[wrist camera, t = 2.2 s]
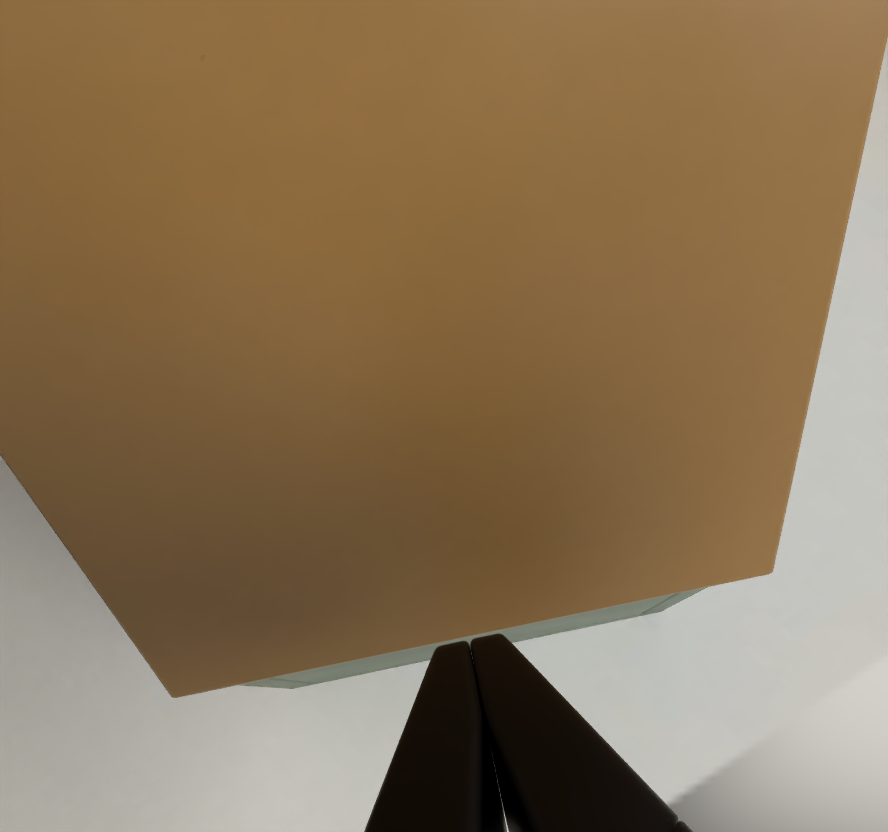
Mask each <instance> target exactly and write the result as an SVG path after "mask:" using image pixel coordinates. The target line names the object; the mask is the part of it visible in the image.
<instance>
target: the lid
mask: <svg viewBox="0 0 888 832" xmlns="http://www.w3.org/2000/svg"><path fill="white" fill-rule="evenodd" d="M887 37H888V0H0V455H1V456H2V458H3V459H4V460H5V462H6V463H7V465H8V466H9V468H10V469H11V470H12V472H13V473H14V475H15V476H16V477H17V479H18V480H19V482H20V483H21V484H22V486H23V487H24V489H25V490H26V492H27V493H28V494H29V496H30V497H31V499H32V500H33V501H34V503H35V504H36V506H37V507H38V509H39V510H40V511H41V513H42V514H43V516H44V517H45V518H46V520H47V521H48V523H49V524H50V526H51V527H52V528H53V530H54V531H55V533H56V534H57V535H58V537H59V538H60V540H61V541H62V543H63V544H64V545H65V547H66V548H67V550H68V551H69V552H70V554H71V555H72V557H73V558H74V560H75V561H76V562H77V564H78V565H79V567H80V568H81V569H82V571H83V572H84V574H85V575H86V576H87V578H88V579H89V581H90V582H91V584H92V585H93V586H94V588H95V589H96V591H97V592H98V593H99V595H100V596H101V598H102V599H103V601H104V602H105V603H106V605H107V606H108V608H109V609H110V610H111V612H112V613H113V615H114V616H115V618H116V619H117V620H118V622H119V623H120V625H121V626H122V627H123V629H124V630H125V632H126V633H127V635H128V636H129V637H130V639H131V640H132V642H133V643H134V644H135V646H136V647H137V649H138V650H139V652H140V653H141V654H142V656H143V657H144V659H145V660H146V661H147V663H148V664H149V666H150V667H151V668H152V670H153V671H154V673H155V674H156V676H157V677H158V678H159V680H160V681H161V683H162V684H163V685H164V687H165V688H166V690H167V691H168V693H169V694H170V695H171V697H173V698H178V697H183V696H187V695H192V694H197V693H202V692H207V691H211V690H216V689H221V688H226V687H231V686H235V685H240V684H245V683H250V682H255V681H259V680H264V679H269V678H274V677H278V676H283V675H288V674H293V673H298V672H302V671H307V670H312V669H317V668H322V667H326V666H331V665H336V664H341V663H345V662H350V661H355V660H360V659H365V658H369V657H374V656H379V655H384V654H389V653H393V652H398V651H403V650H408V649H413V648H417V647H422V646H427V645H432V644H436V643H441V642H446V641H451V640H456V639H460V638H465V637H470V636H475V635H480V634H484V633H489V632H494V631H499V630H503V629H508V628H513V627H518V626H523V625H527V624H532V623H537V622H542V621H547V620H551V619H556V618H561V617H566V616H571V615H575V614H580V613H585V612H590V611H594V610H599V609H604V608H609V607H614V606H618V605H623V604H628V603H633V602H638V601H642V600H647V599H652V598H657V597H661V596H666V595H671V594H676V593H681V592H685V591H690V590H695V589H700V588H705V587H709V586H714V585H719V584H724V583H729V582H733V581H738V580H743V579H748V578H752V577H757V576H762V575H767V574H770V573H772V572H773V568H774V564H775V559H776V554H777V550H778V545H779V540H780V536H781V531H782V526H783V522H784V517H785V512H786V508H787V503H788V498H789V494H790V489H791V484H792V480H793V475H794V470H795V466H796V461H797V456H798V452H799V447H800V442H801V438H802V433H803V428H804V424H805V419H806V414H807V410H808V405H809V401H810V396H811V391H812V387H813V382H814V377H815V373H816V368H817V363H818V359H819V354H820V349H821V345H822V340H823V335H824V331H825V326H826V321H827V317H828V312H829V307H830V303H831V298H832V293H833V289H834V284H835V279H836V275H837V270H838V265H839V261H840V256H841V251H842V247H843V242H844V237H845V233H846V228H847V223H848V219H849V214H850V210H851V205H852V200H853V196H854V191H855V186H856V182H857V177H858V172H859V168H860V163H861V158H862V154H863V149H864V144H865V140H866V135H867V130H868V126H869V121H870V116H871V112H872V107H873V102H874V98H875V93H876V88H877V84H878V79H879V74H880V70H881V65H882V60H883V56H884V51H885V46H886V42H887Z"/></svg>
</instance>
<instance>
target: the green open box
mask: <svg viewBox="0 0 888 832" xmlns="http://www.w3.org/2000/svg"><path fill="white" fill-rule="evenodd" d="M705 588H707V587H705ZM705 588H700V589H695V590H690V591H685V592H681V593H676V594H671V595H666V596H661V597H657V598H652V599H647V600H642V601H638V602H633V603H628V604H623V605H618V606H614V607H609V608H604V609H599V610H594V611H590V612H585V613H580V614H575V615H571V616H566V617H561V618H556V619H551V620H547V621H542V622H537V623H532V624H527V625H523V626H518V627H513V628H508V629H503V630H499V631H494V632H489V633H484V634H480V635H475V636H470V637H465V638H460V639H456V640H451V641H446V642H441V643H436V644H432V645H427V646H422V647H417V648H413V649H408V650H403V651H398V652H393V653H389V654H384V655H379V656H374V657H369V658H365V659H360V660H355V661H350V662H345V663H341V664H336V665H331V666H326V667H322V668H317V669H312V670H307V671H302V672H298V673H293V674H288V675H283V676H278V677H274V678H269V679H264V680H259V681H255V682H250V683H245V684H240V685H244V686H259V687H274V688H289V689H293V688H298V687H303V686H307V685H312V684H317V683H322V682H327V681H331V680H336V679H341V678H346V677H350V676H355V675H360V674H365V673H370V672H374V671H379V670H384V669H389V668H393V667H398V666H403V665H408V664H413V663H417V662H422V661H427V660H431V658H432V655H433V653H434V651H435V649H436V648H437V647H438V646H441V645H445V644H450V643H455V642H459V641H466V642H468V643H469V645H470V643H471V641H472V640H473V639H474V638H478V637H483V636H487V635H492V634H497V633H500V634H503V635H504V636H505V637H506V638H507V639H508V640H509V641H510V642H511V643H513V642H518V641H523V640H527V639H532V638H537V637H542V636H546V635H551V634H556V633H561V632H566V631H570V630H575V629H580V628H585V627H589V626H594V625H599V624H604V623H609V622H613V621H618V620H623V619H628V618H632V617H637V616H642V615H647V614H652V613H656V612H661V611H663V610H665V609H666V608H668V607H670V606H672V605H674V604H676V603H678V602H680V601H682V600H684V599H686V598H688V597H690V596H691V595H693V594H695V593H697V592H699V591H701V590H703V589H705ZM470 649H471V647H470Z"/></svg>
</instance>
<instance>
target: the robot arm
mask: <svg viewBox="0 0 888 832" xmlns="http://www.w3.org/2000/svg"><path fill="white" fill-rule="evenodd" d="M470 647H471V649H470ZM471 652H472V654H471ZM472 658H473V659H472ZM494 765H495V766H494ZM495 770H496V771H495ZM496 775H497V776H496ZM497 780H498V781H497ZM498 785H499V786H498ZM499 789H500V791H499ZM500 794H501V796H500ZM501 799H502V801H501ZM502 804H503V806H502ZM503 808H504V811H503ZM504 813H505V817H506V821H507V825H508V830H509V832H693V831H692V830H691V829H690V828H689V827H688V826H687V825H686V824H685V823H684V822H682V821H679V822H678V817H677V815H676V814H675V813H674V812H673V811H672V810H671V809H670V808H669V807H668V806H667V805H666V804H665V803H664V802H663V800H662V799H661V798H660V797H659V796H658V795H657V794H656V793H655V792H654V791H653V790H652V789H651V788H650V787H649V786H648V785H647V784H646V783H645V782H644V781H643V780H642V779H641V778H640V777H639V775H638V774H637V773H636V772H635V771H634V770H633V769H632V768H631V767H630V766H629V765H628V764H627V763H626V762H625V761H624V760H623V759H622V758H621V757H620V756H619V755H618V754H617V753H616V751H615V750H614V749H613V748H612V747H611V746H610V745H609V744H608V743H607V742H606V741H605V740H604V739H603V738H602V737H601V736H600V735H599V734H598V733H597V732H596V731H595V730H594V729H593V727H592V726H591V725H590V724H589V723H588V722H587V721H586V720H585V719H584V718H583V717H582V716H581V715H580V714H579V713H578V712H577V711H576V710H575V709H574V708H573V707H572V706H571V705H570V703H569V702H568V701H567V700H566V699H565V698H564V697H563V696H562V695H561V694H560V693H559V692H558V691H557V690H556V689H555V688H554V687H553V686H552V685H551V684H550V683H549V682H548V681H547V679H546V678H545V677H544V676H543V675H542V674H541V673H540V672H539V671H538V670H537V669H536V668H535V667H534V666H533V665H532V664H531V663H530V662H529V661H528V660H527V659H526V658H525V657H524V655H523V654H522V653H521V652H520V651H519V650H518V649H517V648H516V647H515V646H514V645H513V644H512V643H511V642H510V641H509V640H508V639H507V638H506V637H505V636H504V635H503V634H500V633H497V634H492V635H487V636H483V637H478V638H474V639H473V640H472V641H471V643H470V645H469V643H468V642H466V641H459V642H455V643H450V644H445V645H441V646H438V647H437V648H436V649H435V651H434V653H433V655H432V658H431V660H430V663H429V666H428V668H427V671H426V673H425V676H424V679H423V681H422V684H421V686H420V689H419V691H418V694H417V697H416V699H415V702H414V704H413V707H412V710H411V712H410V715H409V717H408V720H407V722H406V725H405V728H404V730H403V733H402V735H401V738H400V740H399V743H398V746H397V748H396V751H395V753H394V756H393V759H392V761H391V764H390V766H389V769H388V771H387V774H386V777H385V779H384V782H383V784H382V787H381V790H380V792H379V795H378V797H377V800H376V802H375V805H374V808H373V810H372V813H371V815H370V818H369V821H368V823H367V826H366V828H365V831H364V832H507V829H506V823H505V817H504Z"/></svg>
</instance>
